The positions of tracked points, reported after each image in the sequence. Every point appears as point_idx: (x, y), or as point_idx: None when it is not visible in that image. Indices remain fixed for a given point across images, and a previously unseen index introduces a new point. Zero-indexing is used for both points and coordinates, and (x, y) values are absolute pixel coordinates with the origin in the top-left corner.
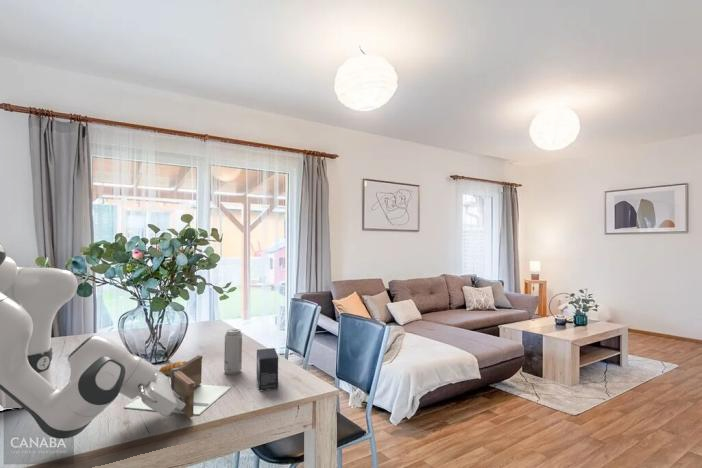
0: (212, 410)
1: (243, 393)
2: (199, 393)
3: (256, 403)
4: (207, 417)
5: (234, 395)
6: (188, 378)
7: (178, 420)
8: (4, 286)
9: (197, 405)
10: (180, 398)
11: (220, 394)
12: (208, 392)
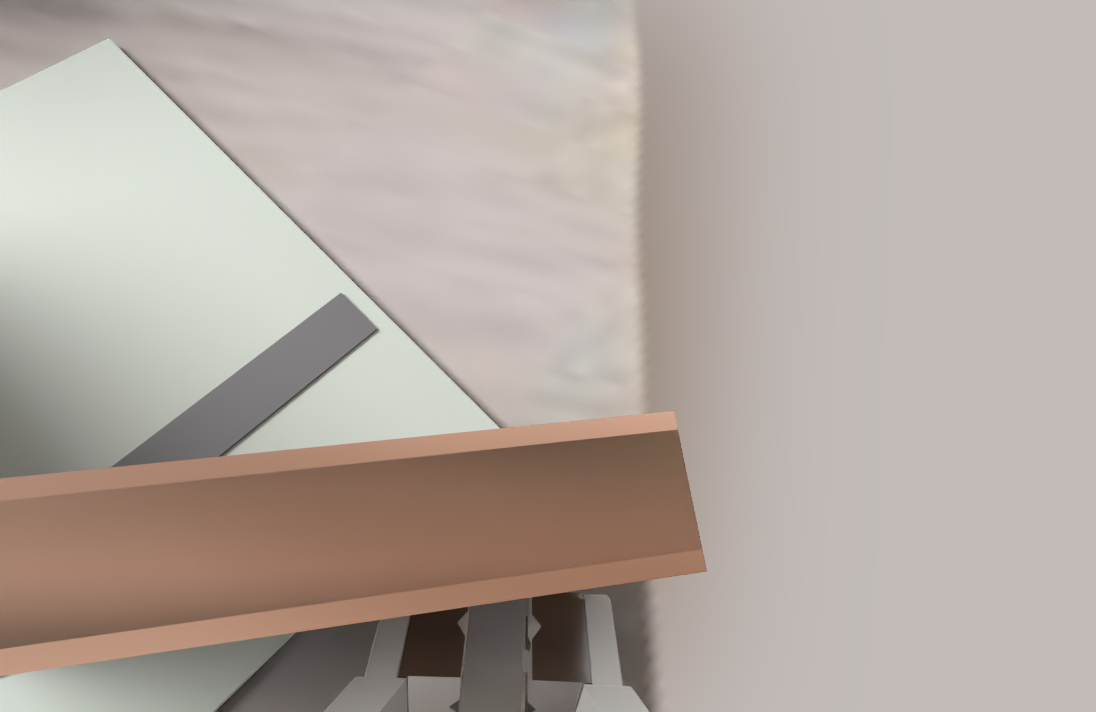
0: (472, 308)
1: (312, 25)
2: (1, 297)
3: (550, 33)
4: (582, 381)
5: (298, 83)
6: (255, 473)
7: (493, 632)
8: None
9: (298, 392)
10: (461, 655)
11: (203, 155)
12: (57, 221)
